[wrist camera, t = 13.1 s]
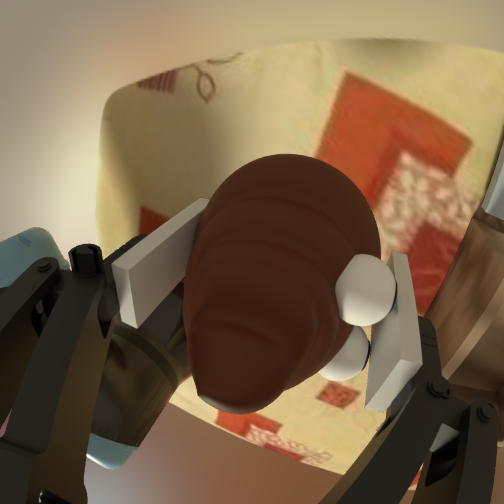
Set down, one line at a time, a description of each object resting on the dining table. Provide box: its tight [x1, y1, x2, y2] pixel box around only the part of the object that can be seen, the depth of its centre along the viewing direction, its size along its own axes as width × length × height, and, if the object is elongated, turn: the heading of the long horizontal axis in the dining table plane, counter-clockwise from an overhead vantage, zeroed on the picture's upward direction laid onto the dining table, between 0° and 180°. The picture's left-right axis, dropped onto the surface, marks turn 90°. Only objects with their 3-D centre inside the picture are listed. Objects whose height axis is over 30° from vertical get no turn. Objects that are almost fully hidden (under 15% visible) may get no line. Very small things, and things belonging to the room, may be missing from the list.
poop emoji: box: [183, 154, 398, 414], centre depth 11 cm, size 10×8×9 cm
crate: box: [386, 218, 504, 447], centre depth 21 cm, size 20×18×9 cm
